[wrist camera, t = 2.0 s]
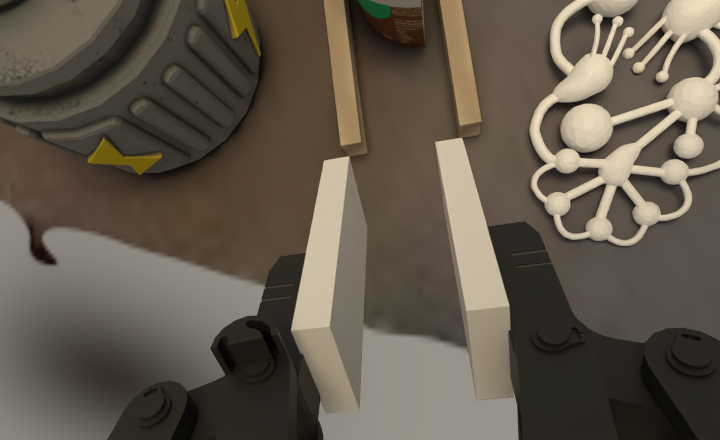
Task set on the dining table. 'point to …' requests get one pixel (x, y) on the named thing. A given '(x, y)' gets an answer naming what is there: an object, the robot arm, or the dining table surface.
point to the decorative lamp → (128, 77)
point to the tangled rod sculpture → (627, 114)
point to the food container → (396, 20)
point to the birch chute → (349, 84)
